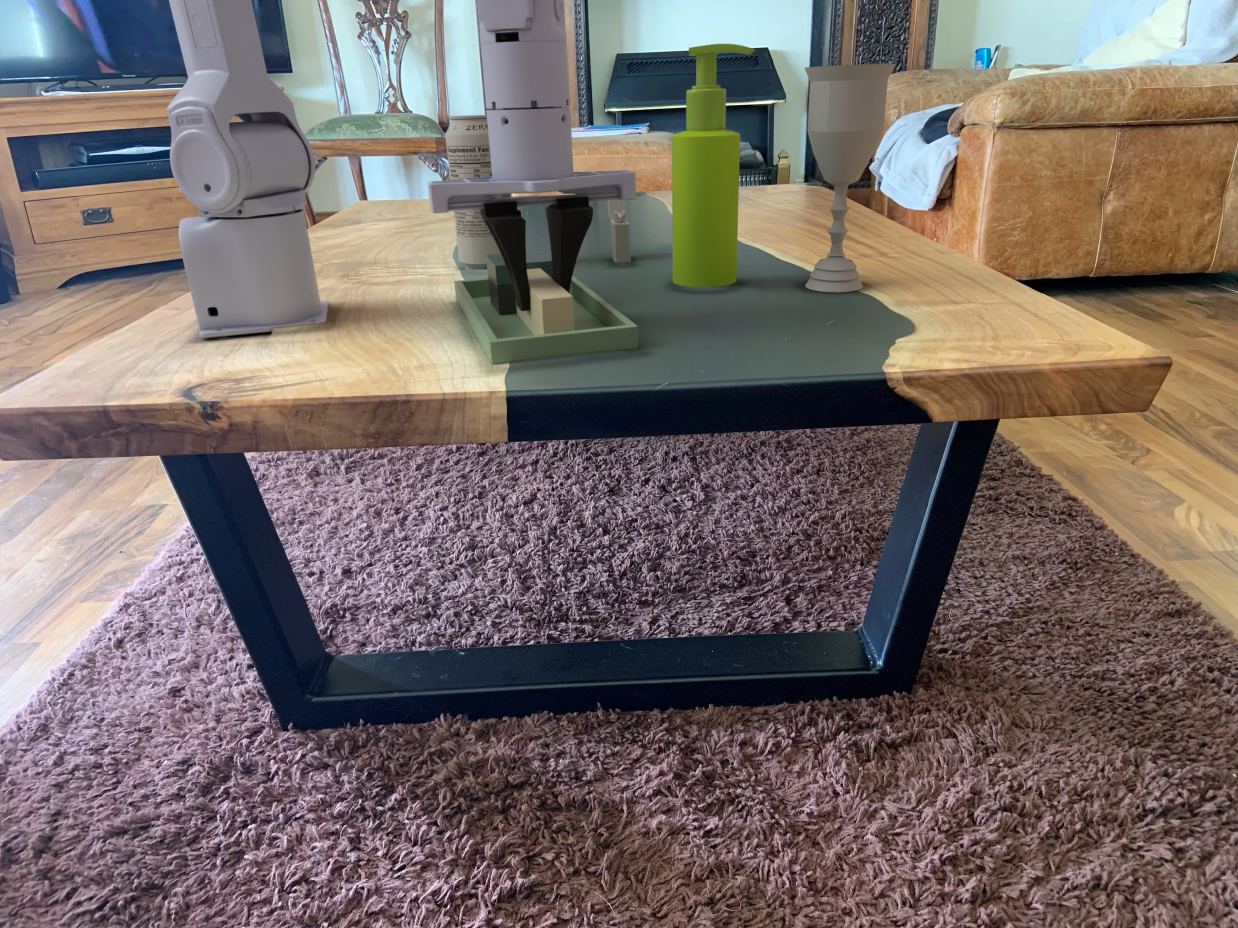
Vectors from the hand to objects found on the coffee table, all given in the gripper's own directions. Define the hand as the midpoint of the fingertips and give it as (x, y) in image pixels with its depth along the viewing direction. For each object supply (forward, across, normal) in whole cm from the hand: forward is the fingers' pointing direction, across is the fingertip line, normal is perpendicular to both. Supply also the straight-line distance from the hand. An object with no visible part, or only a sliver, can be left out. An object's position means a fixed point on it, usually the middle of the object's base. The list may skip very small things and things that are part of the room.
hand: (542, 306), depth 62 cm
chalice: (+2, +28, +6) cm, 29 cm away
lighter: (+2, +14, +27) cm, 31 cm away
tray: (+2, 0, +3) cm, 4 cm away
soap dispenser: (+2, +18, +11) cm, 21 cm away
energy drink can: (+2, 0, +29) cm, 29 cm away
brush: (+2, 0, +3) cm, 3 cm away
